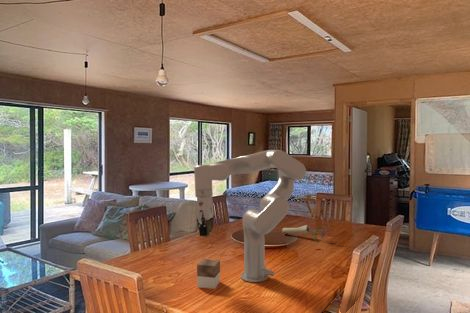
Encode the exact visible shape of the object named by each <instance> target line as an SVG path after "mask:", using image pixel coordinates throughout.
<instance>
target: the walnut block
mask: <svg viewBox="0 0 470 313" xmlns="http://www.w3.org/2000/svg"><path fill="white" fill-rule="evenodd" d="M219 272H220V273H221V259H205V258H203V259H201V260H200V261H199V262H198V263H197V265H196V277H197V276H201V277H212V278H215V277H216V276H217V274H218V273H219Z"/></svg>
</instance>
